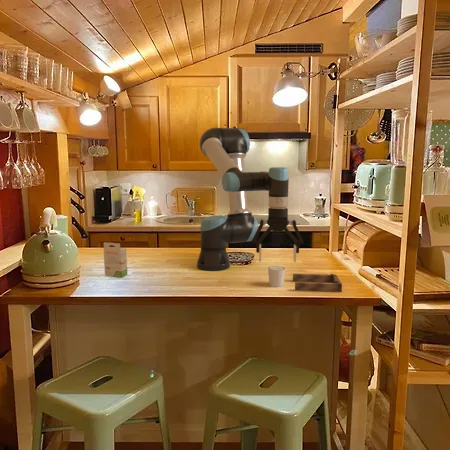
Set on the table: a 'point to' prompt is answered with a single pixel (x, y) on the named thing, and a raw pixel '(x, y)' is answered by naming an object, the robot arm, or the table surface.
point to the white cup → (276, 276)
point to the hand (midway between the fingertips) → (277, 261)
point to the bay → (309, 283)
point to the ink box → (115, 260)
